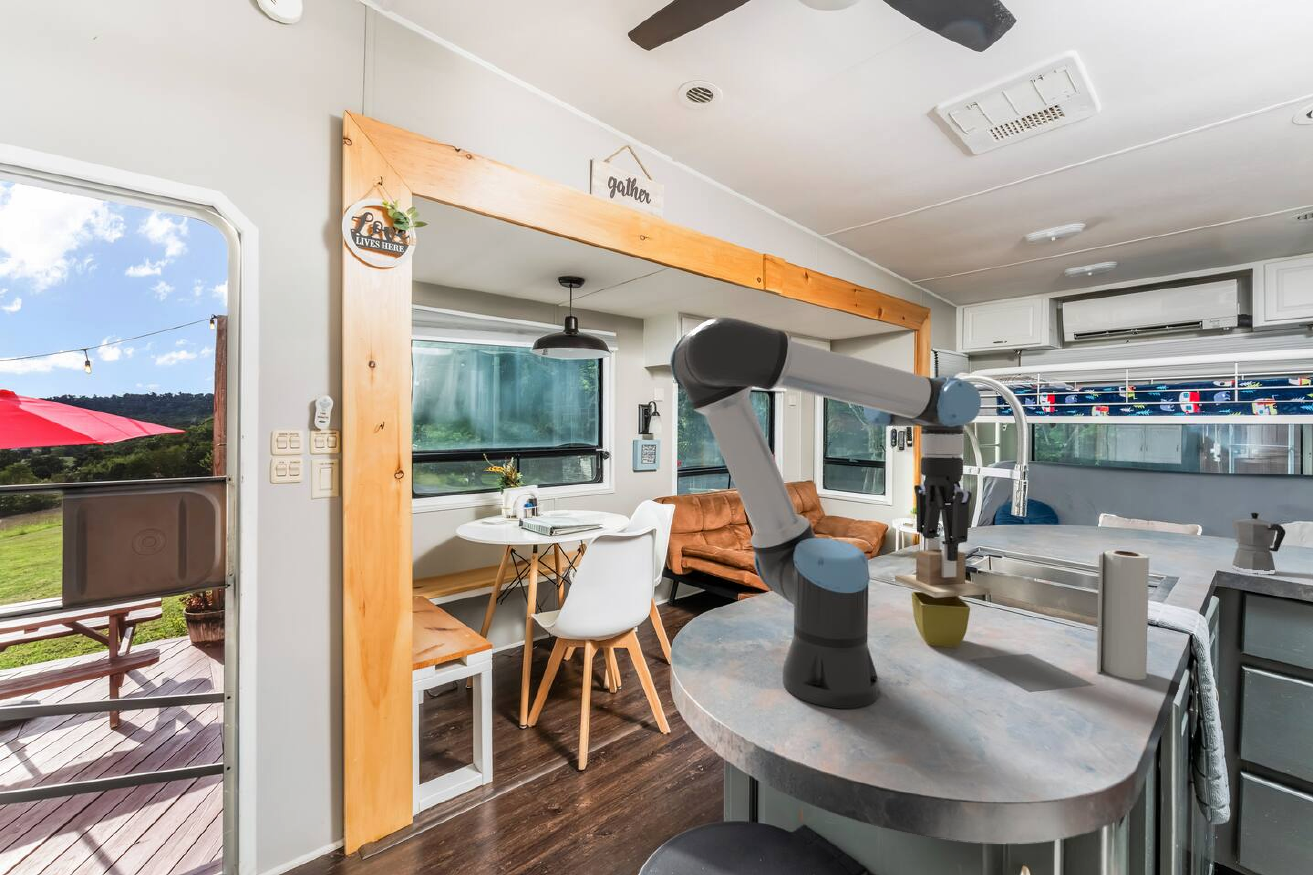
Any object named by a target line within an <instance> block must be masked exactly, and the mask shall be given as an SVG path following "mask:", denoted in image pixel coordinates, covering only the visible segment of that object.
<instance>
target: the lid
mask: <svg viewBox="0 0 1313 875" xmlns="http://www.w3.org/2000/svg"><path fill="white" fill-rule="evenodd" d="M966 556H967V552H963V551H959V550H958V560H957V561H956V577H942V576H941V569H942V548H940V550H924V549H919V550H916V557H915V558H916V560H915V561H916V563H915V574H898V575H894V581H895V582H898V583H900V584H903V585H904V586H906V587H910V588H912V589H914V590H915V591H917V592H923V593H925V594H927V595H930V596H932V597H934V598H937V597H952V596H959V597H964V596H965V597H966V596H977V595H979V596H981V595H991V589H990V587H986V586H984V585H980V584H978V583H975V582H973V581H969V580H966V574H967V573H966V569H967V568H966V567H967V566H966V564H967V562H966V560H967V559H966V558H967V557H966Z"/></svg>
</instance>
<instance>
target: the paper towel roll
mask: <svg viewBox="0 0 1313 875" xmlns="http://www.w3.org/2000/svg"><path fill="white" fill-rule="evenodd" d="M1149 570H1150V557H1149V555H1147V554H1143V553H1141V552H1133V551H1127V550H1105V551H1102V552H1101V553H1099V555H1098V584H1097V585H1098V593H1097V632H1096V634H1097V638H1096V641H1097V642H1096V674H1099V673H1101V672H1102V671H1101V670H1104V672H1105V673H1108V674H1110V675H1112V676H1115V677H1119V678H1122V679H1127V680H1134V681H1143V680H1146V679H1147V675H1148V673H1147V667H1148V666H1147V665H1148V624H1149V623H1148V622H1149V621H1148V619H1149V618H1148V617H1149V578H1150V577H1149V576H1150V574H1149V572H1150V571H1149Z"/></svg>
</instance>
